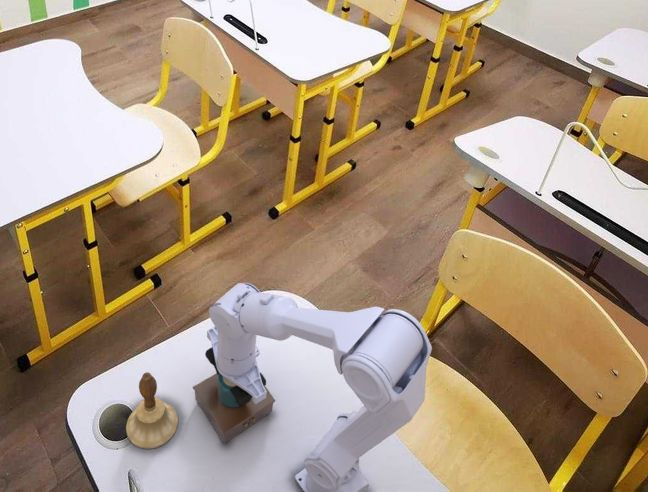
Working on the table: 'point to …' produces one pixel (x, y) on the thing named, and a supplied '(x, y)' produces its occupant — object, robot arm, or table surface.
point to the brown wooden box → (229, 409)
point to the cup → (226, 392)
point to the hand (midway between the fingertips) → (234, 388)
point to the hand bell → (151, 418)
